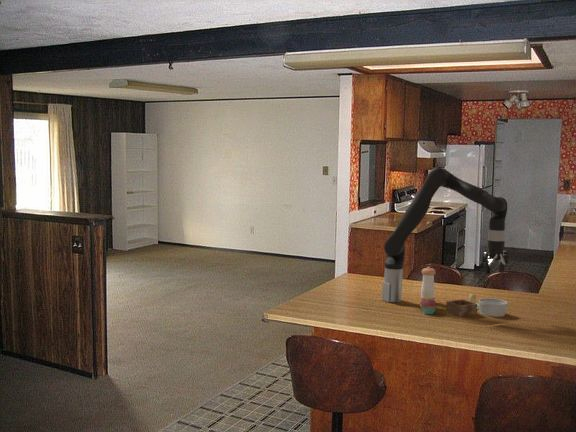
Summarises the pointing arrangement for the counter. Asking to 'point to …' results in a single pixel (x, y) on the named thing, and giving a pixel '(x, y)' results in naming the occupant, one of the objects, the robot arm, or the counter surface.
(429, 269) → the pepper shaker
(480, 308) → the ramekin
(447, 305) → the walnut box
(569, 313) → the counter surface
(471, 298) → the lid
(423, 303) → the cupcake
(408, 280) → the counter surface
